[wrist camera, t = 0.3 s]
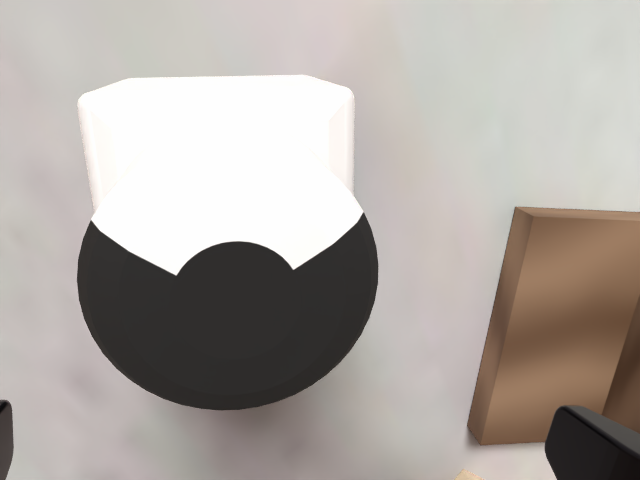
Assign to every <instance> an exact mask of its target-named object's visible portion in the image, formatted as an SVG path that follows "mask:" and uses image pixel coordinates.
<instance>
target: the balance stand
mask: <svg viewBox="0 0 640 480" xmlns="http://www.w3.org/2000/svg"><path fill="white" fill-rule="evenodd" d="M563 405H579V406H583V407H586V408H588V409H590V410H592V411H594V412H596V413H598V414H600V415H602V416H604V417H606V418H608V419H611V420H613V421H615V422H617V423H619V424H621V425H623V426H625V427H627V428H629V429H631V430H633V431H635V432H637V433H639V434H640V212H622V211H599V210H577V209H555V208H532V207H515V212H514V216H513V221H512V225H511V230H510V234H509V239H508V243H507V248H506V252H505V257H504V261H503V266H502V270H501V275H500V280H499V284H498V289H497V293H496V298H495V302H494V307H493V311H492V316H491V320H490V325H489V329H488V334H487V338H486V343H485V348H484V352H483V357H482V361H481V366H480V370H479V375H478V379H477V384H476V388H475V393H474V397H473V402H472V406H471V411H470V415H469V420H468V425H467V426H468V427H469V429H470V430H471V432H472V433H473V435H474V436H475V438H476V439H477V441H478V442H479V444H480V445H494V444H512V443H530V442H545V441H546V438H547V435H548V432H549V429H550V426H551V422H552V419H553V416H554V413H555V411H556V410H557V408H558V407H560V406H563Z"/></svg>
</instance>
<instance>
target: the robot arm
mask: <svg viewBox="0 0 640 480" xmlns="http://www.w3.org/2000/svg"><path fill="white" fill-rule="evenodd" d="M13 448H14V445H13V420H12V407H11V404H10V402H9V401H7V400H0V480H6V477H7V474H8V471H9V468H10V465H11V461H12V457H13ZM545 453H546V457H547V459H548V461H549V463H550V466H551V468H552V470H553V472H554V474H555V476H556V478H557V480H640V434H639V433H637V432H635V431H633V430H631V429H629V428H627V427H625V426H623V425H621V424H619V423H617V422H615V421H613V420H611V419H608V418H606V417H604V416H602V415H600V414H598V413H596V412H594V411H592V410H590V409H588V408H586V407H583V406H579V405H563V406H560V407H558V408H557V410H556V411H555V413H554V416H553V419H552V422H551V426H550V429H549V432H548V435H547V438H546V441H545Z"/></svg>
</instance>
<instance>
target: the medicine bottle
mask: <svg viewBox="0 0 640 480" xmlns="http://www.w3.org/2000/svg"><path fill="white" fill-rule="evenodd" d="M77 109H78V115H79V122H80V128H81V134H82V140H83V146H84V152H85V159H86V165H87V171H88V177H89V183H90V189H91V196H92V202H93V208H94V216H93V217H92V219H91V221H90V223H89V226H88V228H87V231H86V233H85V236H84V238H83V242H82V246H81V250H80V255H79V259H78V273H77V284H78V294H79V301H80V305H81V308H82V312H83V316H84V319H85V321H86V324H87V326H88V328H89V330H90V333H91V335H92V337H93V338H94V340H95V342H96V343H97V345H98V346H99V348H100V349H101V351H102V352H103V354H104V355H105V356H106V357H107V358H108V359H109V361H110V362H111V363H112V364H113V365H114V366H115V367H116V368H117V369H118V370H119V371H120V372H121V373H123V374H124V375H125V376H126V377H127V378H128V379H130V380H131V381H133V382H134V383H136V384H137V385H139V386H140V387H142V388H143V389H145V390H146V391H149V392H151V393H153V394H155V395H157V396H159V397H161V398H163V399H166V400H169V401H172V402H175V403H178V404H181V405H185V406H190V407H195V408H200V409H211V410H240V409H246V408H253V407H259V406H263V405H266V404H270V403H274V402H277V401H280V400H282V399H285V398H287V397H290V396H292V395H295V394H296V393H298V392H300V391H302V390H304V389H306V388H308V387H309V386H311V385H313V384H314V383H315V382H317V381H318V380H320V379H321V378H322V377H324V376H325V375H327V374H328V373H329V372H330V371H331V370H332V369H333V368H334V367H335V366H337V365H338V364H339V363H340V362H341V360H342V359H343V358H344V357H345V356H346V355H347V354H348V352H349V351H350V350H351V349H352V347H353V346H354V344H355V343H356V341H357V340H358V338H359V337H360V335H361V333H362V331H363V329H364V327H365V325H366V323H367V321H368V319H369V317H370V314H371V310H372V307H373V304H374V301H375V296H376V290H377V285H378V258H377V250H376V245H375V241H374V237H373V234H372V230H371V227H370V225H369V223H368V221H367V218H366V216H365V214H364V212H363V210H362V209H361V207H360V205H359V204H358V202H357V201H356V199H355V198H354V122H355V99H354V95H353V92H352V91H351V90H350V89H349V88H347V87H343V86H340V85H337V84H334V83H330V82H327V81H324V80H321V79H317V78H314V77H311V76H307V75H272V76H219V77H166V78H129V79H125V80H122V81H119V82H116V83H114V84H111V85H108V86H105V87H102V88H99V89H96V90H94V91H91V92H88V93H85V94H83V95H82V96H81V97H80V98H79V100H78V106H77Z"/></svg>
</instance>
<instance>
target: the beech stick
mask: <svg viewBox="0 0 640 480" xmlns="http://www.w3.org/2000/svg"><path fill="white" fill-rule="evenodd" d="M454 480H485V479H483V478H481V477H479V476H477V475H475V474H473V473H471V472H469V471H467V470H465V469H463V470H462V471H461V472H460V474H459V475H458V476H457V477H456V478H455V479H454Z"/></svg>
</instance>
